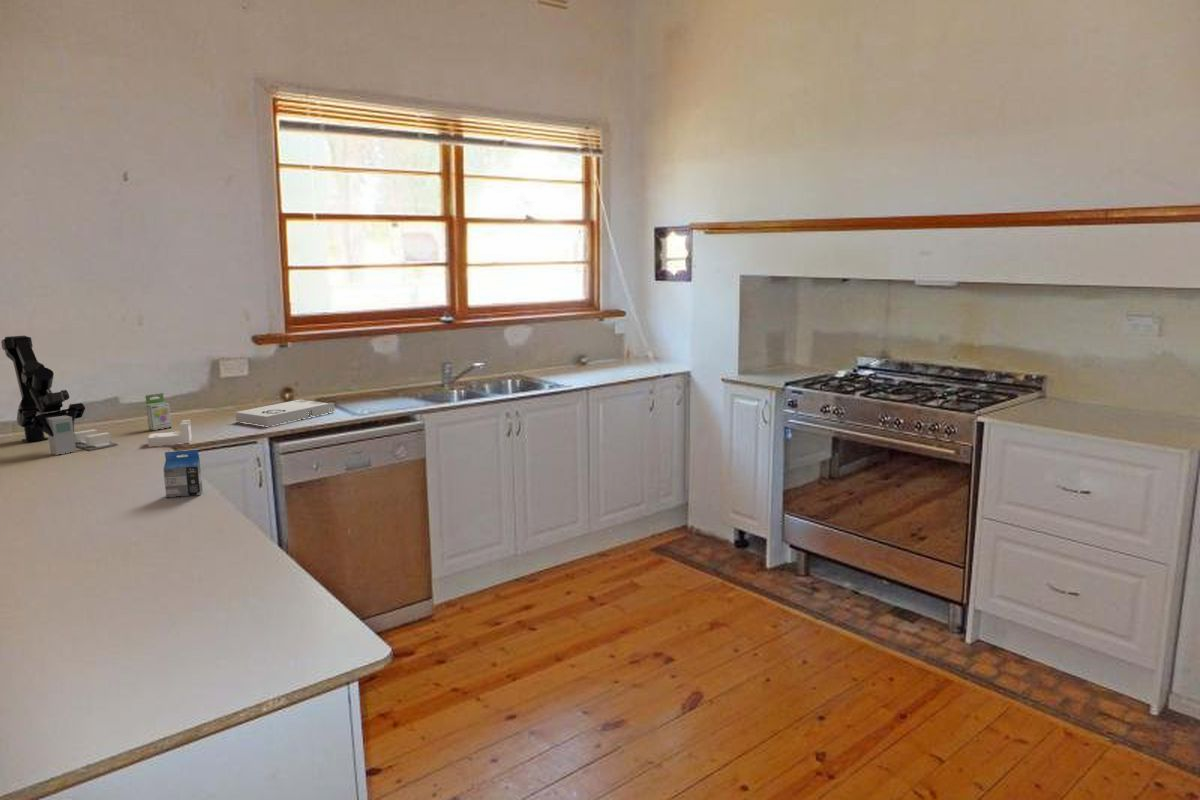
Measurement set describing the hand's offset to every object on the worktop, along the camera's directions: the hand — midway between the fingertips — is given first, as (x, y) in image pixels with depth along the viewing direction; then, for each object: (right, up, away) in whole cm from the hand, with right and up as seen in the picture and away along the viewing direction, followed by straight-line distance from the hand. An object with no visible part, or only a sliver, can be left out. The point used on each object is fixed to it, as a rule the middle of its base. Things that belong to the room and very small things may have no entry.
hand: (63, 433), depth 281 cm
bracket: (+29, -4, +15) cm, 33 cm away
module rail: (+2, -4, +13) cm, 14 cm away
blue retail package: (+65, -15, -48) cm, 82 cm away
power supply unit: (+54, +3, +57) cm, 79 cm away
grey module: (-1, -6, +2) cm, 7 cm away
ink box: (+13, 0, +38) cm, 40 cm away
